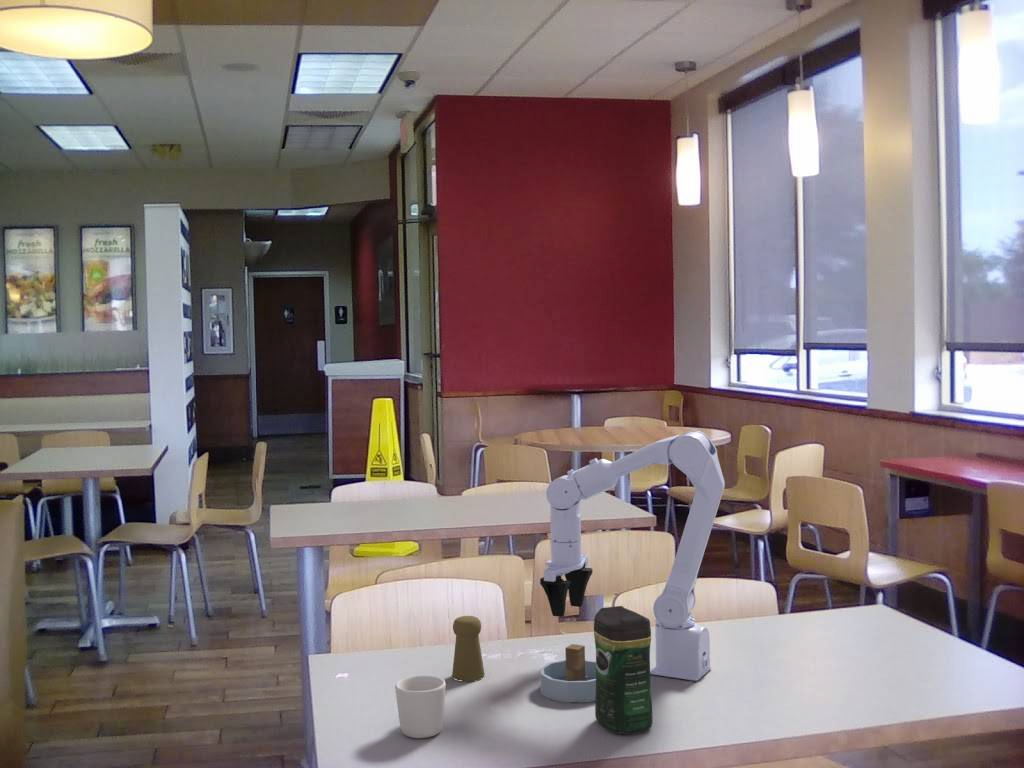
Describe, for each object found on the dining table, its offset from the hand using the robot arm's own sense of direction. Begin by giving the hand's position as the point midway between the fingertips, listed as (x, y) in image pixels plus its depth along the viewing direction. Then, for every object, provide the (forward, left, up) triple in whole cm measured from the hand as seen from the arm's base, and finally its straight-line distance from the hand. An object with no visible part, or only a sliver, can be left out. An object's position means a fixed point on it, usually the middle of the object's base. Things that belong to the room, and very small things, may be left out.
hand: (567, 611), depth 199 cm
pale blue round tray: (-8, +13, -10) cm, 18 cm away
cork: (+13, +15, -10) cm, 22 cm away
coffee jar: (-22, +24, -10) cm, 34 cm away
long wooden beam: (-8, +13, -9) cm, 18 cm away
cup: (+6, +40, -10) cm, 42 cm away
